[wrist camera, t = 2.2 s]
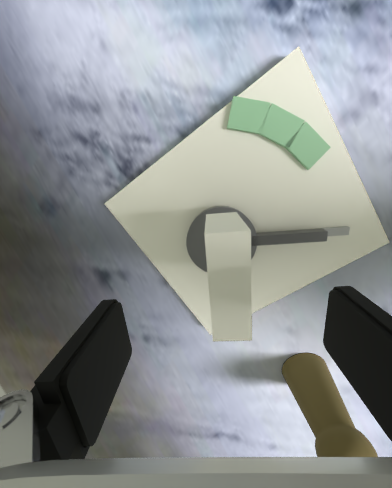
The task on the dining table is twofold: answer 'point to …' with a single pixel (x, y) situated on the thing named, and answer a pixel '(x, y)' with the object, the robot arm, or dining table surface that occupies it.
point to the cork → (324, 408)
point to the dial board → (256, 190)
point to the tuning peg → (233, 264)
